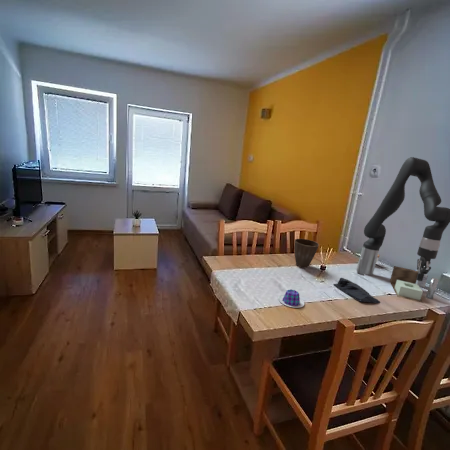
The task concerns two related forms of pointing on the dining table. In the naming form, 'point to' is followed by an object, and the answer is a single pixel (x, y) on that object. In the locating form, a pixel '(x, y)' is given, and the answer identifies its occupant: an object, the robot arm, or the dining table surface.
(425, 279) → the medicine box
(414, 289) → the sliding block
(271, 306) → the dining table surface
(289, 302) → the checked sun hat
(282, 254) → the dining table surface
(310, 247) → the plant pot
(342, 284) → the dark folded cloth
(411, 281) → the track and wall
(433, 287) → the steel peg
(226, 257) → the dining table surface
